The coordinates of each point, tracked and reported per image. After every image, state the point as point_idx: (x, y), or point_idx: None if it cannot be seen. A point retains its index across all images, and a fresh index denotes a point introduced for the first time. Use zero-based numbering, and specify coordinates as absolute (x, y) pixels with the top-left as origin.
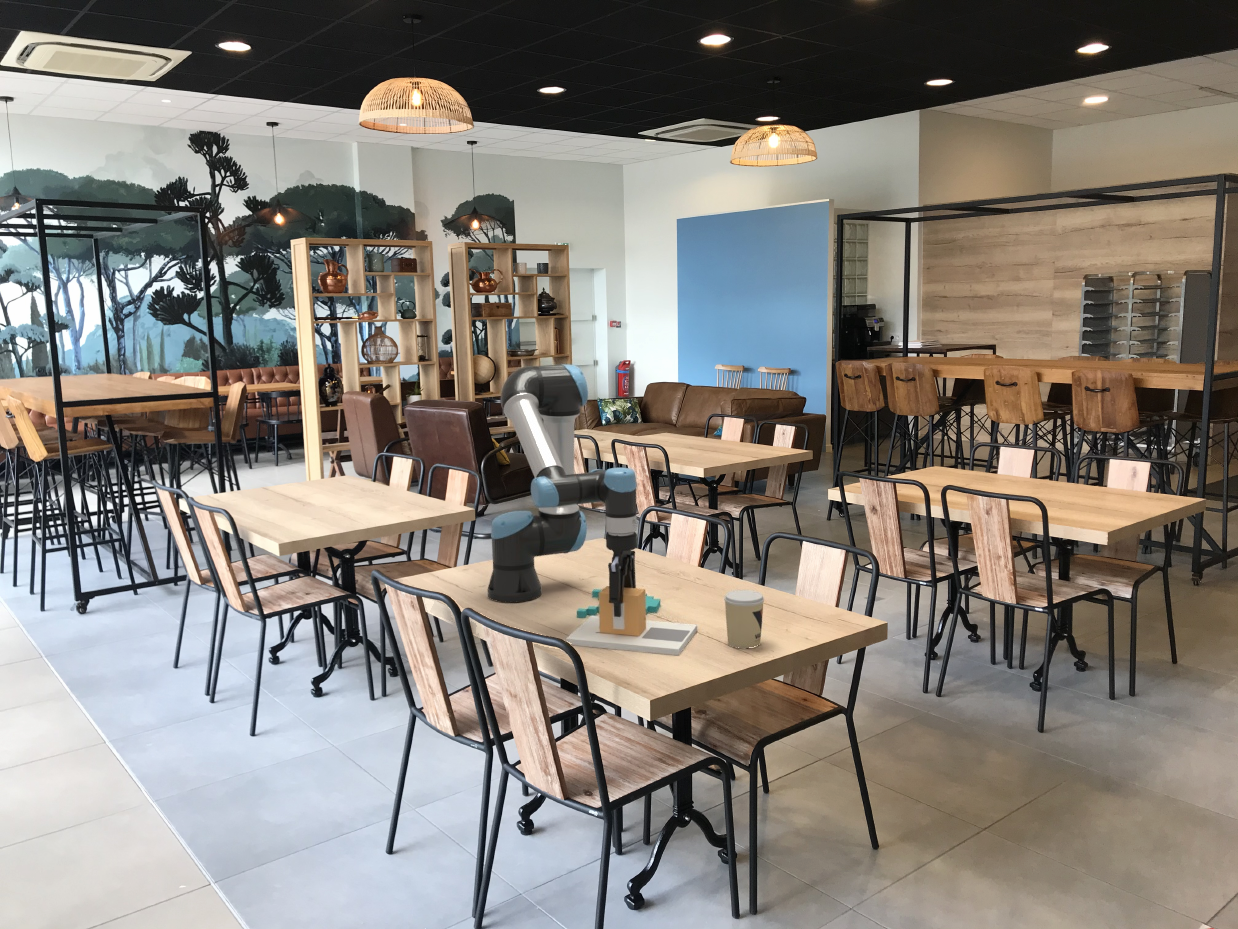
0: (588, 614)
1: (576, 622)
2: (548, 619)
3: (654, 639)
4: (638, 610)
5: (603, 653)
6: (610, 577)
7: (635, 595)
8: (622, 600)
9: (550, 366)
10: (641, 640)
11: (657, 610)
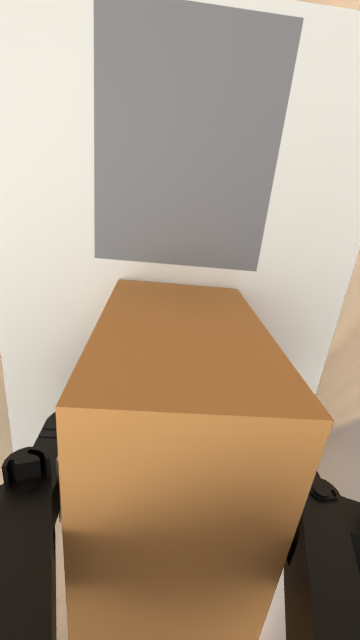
0: None
1: (57, 523)
2: (57, 587)
3: (271, 203)
4: (274, 346)
5: (353, 379)
6: None
7: (310, 446)
8: (315, 496)
9: None
10: (288, 265)
11: None
